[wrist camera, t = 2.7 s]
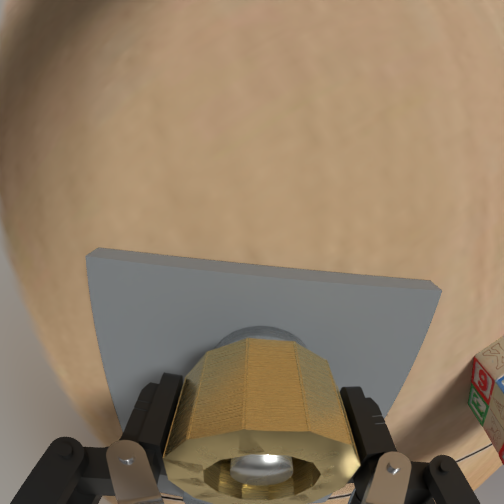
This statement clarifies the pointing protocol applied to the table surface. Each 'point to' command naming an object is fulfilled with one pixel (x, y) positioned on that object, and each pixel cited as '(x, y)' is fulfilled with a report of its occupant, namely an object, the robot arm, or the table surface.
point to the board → (250, 320)
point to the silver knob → (254, 466)
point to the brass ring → (260, 424)
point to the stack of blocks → (489, 393)
